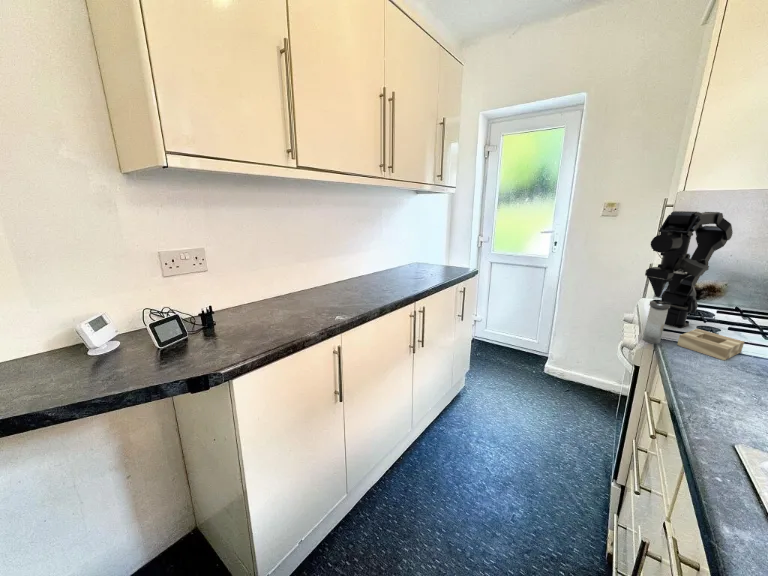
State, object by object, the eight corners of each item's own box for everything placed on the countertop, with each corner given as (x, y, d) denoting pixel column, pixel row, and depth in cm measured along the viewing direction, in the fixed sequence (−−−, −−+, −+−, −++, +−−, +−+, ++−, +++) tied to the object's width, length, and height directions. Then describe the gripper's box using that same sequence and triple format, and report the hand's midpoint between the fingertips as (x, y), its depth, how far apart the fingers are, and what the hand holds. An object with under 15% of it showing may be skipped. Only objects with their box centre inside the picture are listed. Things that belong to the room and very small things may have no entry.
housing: (694, 338, 105) (697, 328, 104) (741, 352, 95) (744, 341, 94) (677, 345, 100) (679, 335, 99) (724, 360, 90) (727, 349, 90)
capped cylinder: (652, 337, 106) (661, 300, 102) (665, 343, 101) (674, 305, 97) (637, 337, 106) (645, 301, 102) (649, 344, 101) (658, 306, 97)
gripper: (692, 256, 93) (680, 305, 97) (722, 251, 101) (708, 297, 105) (649, 251, 103) (639, 296, 107) (678, 246, 110) (668, 289, 115)
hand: (664, 294), depth 108 cm, fingers open, 9 cm apart
